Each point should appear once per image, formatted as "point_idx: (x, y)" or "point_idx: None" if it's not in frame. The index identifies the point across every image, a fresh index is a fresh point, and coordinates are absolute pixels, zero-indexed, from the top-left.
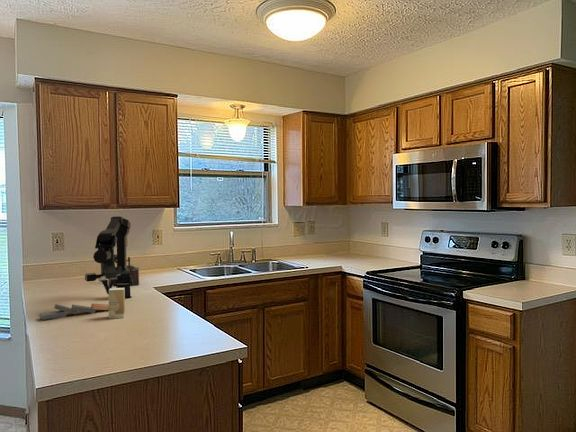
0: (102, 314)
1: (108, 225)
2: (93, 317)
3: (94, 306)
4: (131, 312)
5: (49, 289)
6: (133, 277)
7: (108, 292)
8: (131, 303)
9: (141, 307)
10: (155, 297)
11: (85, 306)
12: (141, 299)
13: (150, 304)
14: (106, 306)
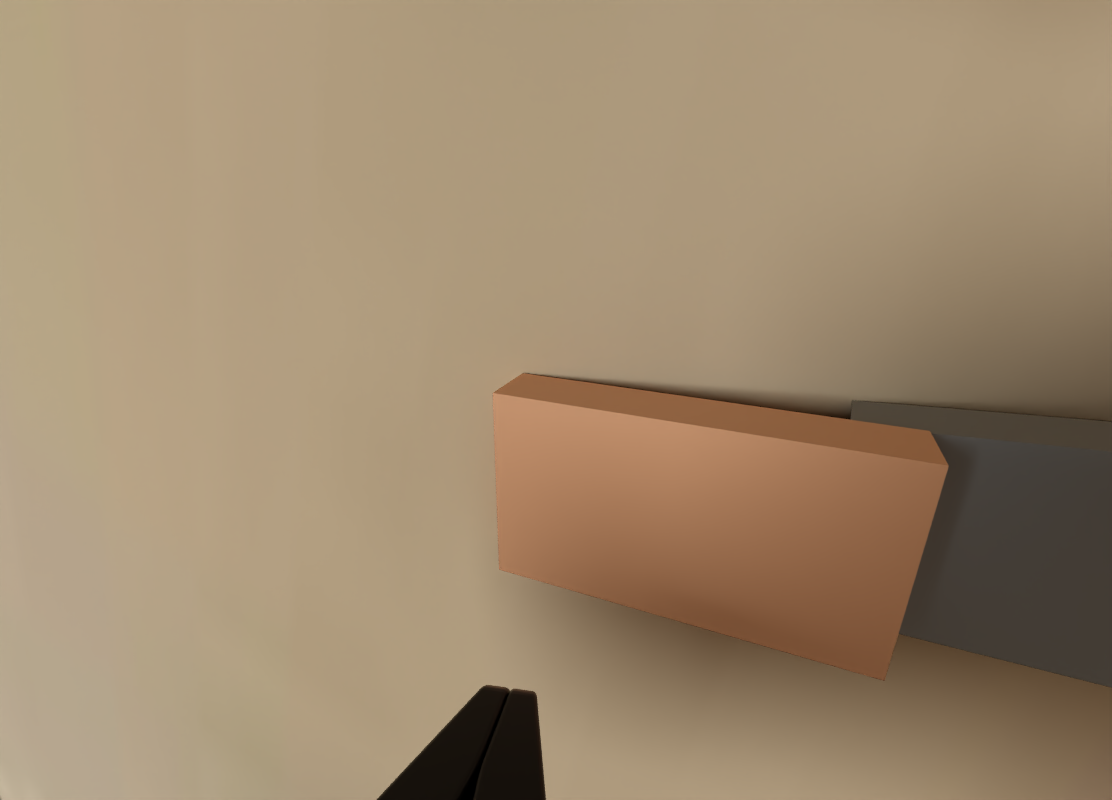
0: (776, 196)
1: None
2: (1042, 15)
3: (912, 452)
4: (268, 3)
5: None
6: None
7: (503, 729)
8: (252, 617)
9: (121, 298)
10: (7, 691)
11: (1013, 646)
12: (144, 712)
13: (17, 401)
14: (640, 417)
